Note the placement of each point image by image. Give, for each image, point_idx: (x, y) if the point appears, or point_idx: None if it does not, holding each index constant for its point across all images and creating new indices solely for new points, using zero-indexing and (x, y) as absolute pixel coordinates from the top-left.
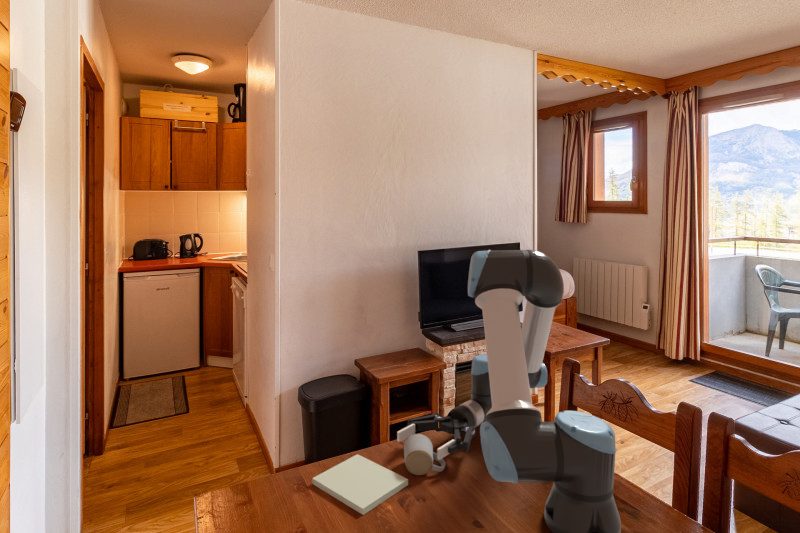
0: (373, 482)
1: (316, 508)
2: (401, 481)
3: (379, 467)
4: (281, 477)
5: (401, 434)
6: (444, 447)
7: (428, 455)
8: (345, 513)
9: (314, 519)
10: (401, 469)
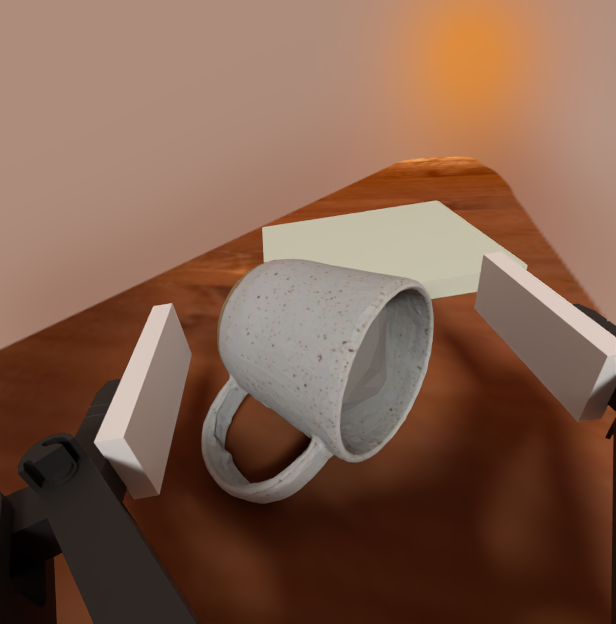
0: (330, 254)
1: (347, 211)
2: None
3: None
4: (495, 194)
5: (492, 282)
6: (142, 339)
7: (222, 309)
8: None
9: (320, 207)
10: None
